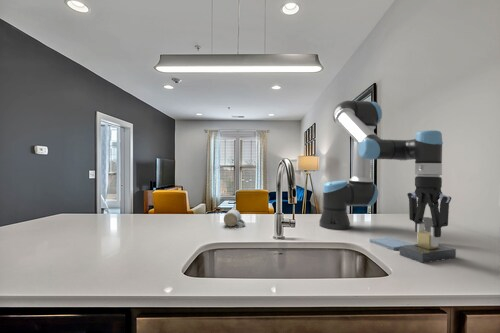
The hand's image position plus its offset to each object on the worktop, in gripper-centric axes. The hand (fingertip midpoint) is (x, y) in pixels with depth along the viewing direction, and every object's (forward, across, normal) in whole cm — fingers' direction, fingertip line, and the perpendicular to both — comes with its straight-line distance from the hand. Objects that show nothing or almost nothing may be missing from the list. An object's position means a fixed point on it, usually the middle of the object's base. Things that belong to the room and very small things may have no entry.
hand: (427, 244), depth 86 cm
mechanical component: (+4, -12, +18) cm, 22 cm away
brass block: (+4, 0, 0) cm, 4 cm away
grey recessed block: (+4, 0, 0) cm, 4 cm away
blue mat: (+4, -14, 0) cm, 15 cm away
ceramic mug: (+4, -63, -50) cm, 80 cm away
